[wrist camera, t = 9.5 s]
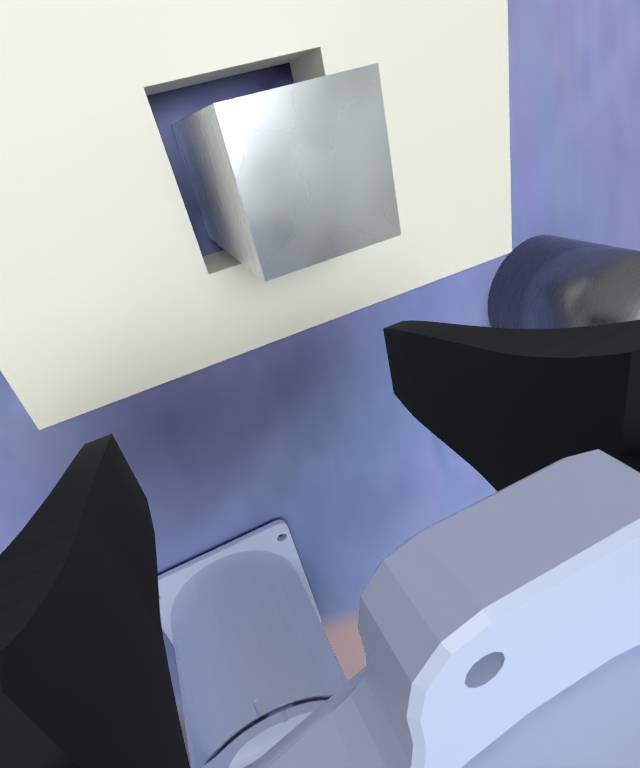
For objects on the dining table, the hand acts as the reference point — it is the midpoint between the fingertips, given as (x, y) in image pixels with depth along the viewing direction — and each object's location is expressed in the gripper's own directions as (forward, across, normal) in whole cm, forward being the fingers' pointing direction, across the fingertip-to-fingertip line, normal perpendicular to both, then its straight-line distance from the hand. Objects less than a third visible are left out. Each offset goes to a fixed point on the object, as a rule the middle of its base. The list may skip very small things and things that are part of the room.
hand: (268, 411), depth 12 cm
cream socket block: (+9, -3, -5) cm, 11 cm away
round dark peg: (+9, -17, +5) cm, 20 cm away
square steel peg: (+9, -3, -5) cm, 11 cm away
